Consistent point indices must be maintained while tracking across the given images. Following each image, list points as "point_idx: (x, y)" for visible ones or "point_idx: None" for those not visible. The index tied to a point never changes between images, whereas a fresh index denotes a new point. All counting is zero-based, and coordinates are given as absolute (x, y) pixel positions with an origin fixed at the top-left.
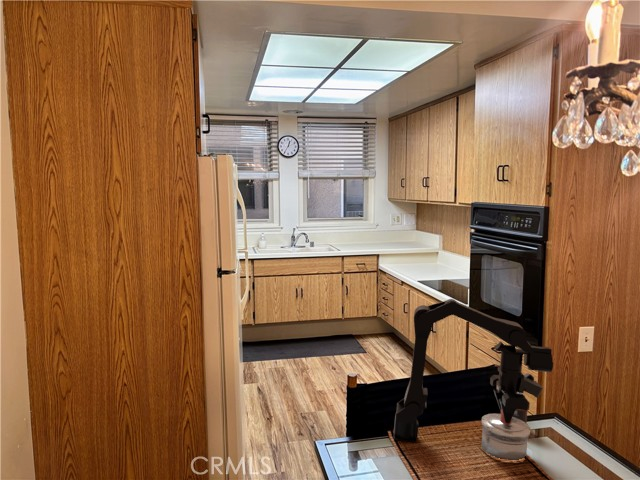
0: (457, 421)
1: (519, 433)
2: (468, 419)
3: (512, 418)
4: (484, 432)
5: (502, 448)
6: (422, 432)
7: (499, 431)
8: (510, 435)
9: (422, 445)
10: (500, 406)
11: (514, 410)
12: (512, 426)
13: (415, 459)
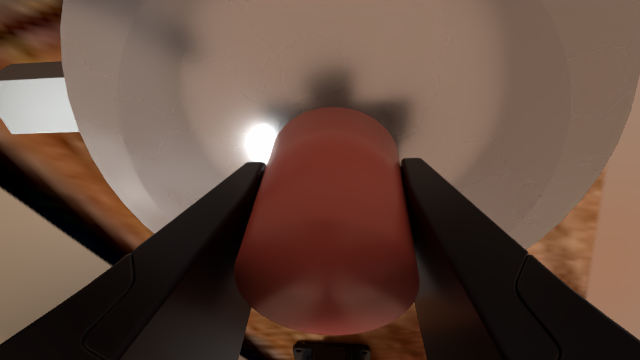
0: (83, 217)
1: (598, 44)
2: (11, 168)
3: (183, 63)
4: None
5: None
6: (277, 324)
7: (535, 234)
8: (603, 147)
9: (379, 331)
10: (240, 340)
11: (620, 345)
12: (458, 119)
13: None
